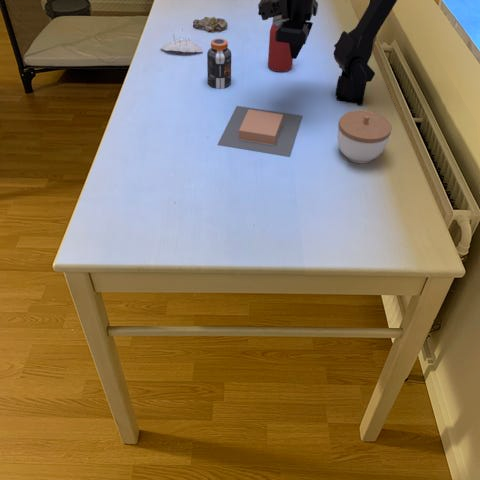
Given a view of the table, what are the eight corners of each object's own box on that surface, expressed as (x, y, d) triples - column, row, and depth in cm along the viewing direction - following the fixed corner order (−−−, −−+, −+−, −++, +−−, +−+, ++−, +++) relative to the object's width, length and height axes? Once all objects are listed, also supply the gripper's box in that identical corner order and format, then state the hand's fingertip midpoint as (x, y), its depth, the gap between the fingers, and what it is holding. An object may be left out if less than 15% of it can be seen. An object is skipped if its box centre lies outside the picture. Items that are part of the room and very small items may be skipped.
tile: (283, 114, 115) (275, 136, 109) (282, 123, 117) (274, 145, 111) (248, 109, 116) (238, 130, 110) (248, 118, 118) (238, 139, 112)
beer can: (292, 62, 140) (296, 18, 131) (291, 73, 135) (296, 28, 127) (268, 60, 140) (271, 16, 132) (266, 72, 135) (269, 26, 127)
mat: (302, 117, 120) (302, 115, 119) (289, 158, 108) (290, 156, 108) (236, 107, 122) (236, 105, 122) (217, 146, 111) (217, 144, 110)
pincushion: (158, 55, 142) (156, 35, 138) (163, 45, 146) (161, 25, 142) (201, 58, 141) (200, 37, 137) (204, 48, 145) (203, 28, 141)
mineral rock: (229, 15, 157) (226, 18, 150) (229, 30, 159) (226, 34, 152) (194, 14, 157) (190, 17, 150) (195, 30, 160) (190, 33, 152)
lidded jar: (343, 172, 105) (351, 133, 99) (326, 143, 113) (333, 105, 106) (391, 167, 107) (402, 128, 100) (372, 138, 114) (381, 101, 108)
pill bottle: (228, 91, 128) (228, 47, 120) (205, 89, 128) (204, 45, 120) (233, 80, 132) (233, 37, 124) (210, 78, 132) (210, 34, 124)
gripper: (272, -34, 112) (267, 36, 123) (252, -4, 99) (249, 71, 110) (322, -29, 110) (313, 42, 121) (309, 2, 97) (300, 79, 108)
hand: (293, 58), depth 115 cm, fingers closed
